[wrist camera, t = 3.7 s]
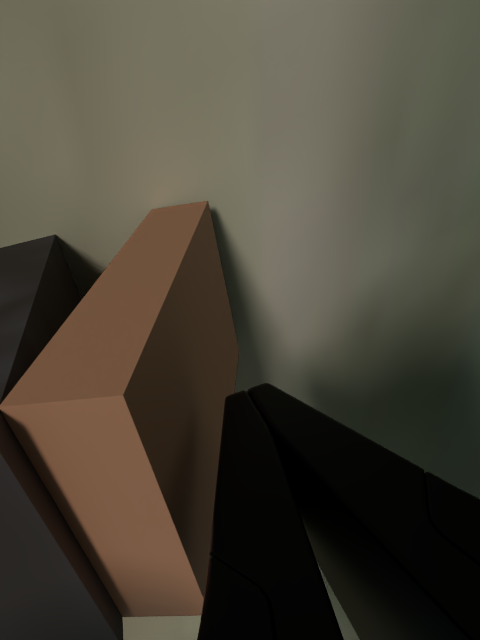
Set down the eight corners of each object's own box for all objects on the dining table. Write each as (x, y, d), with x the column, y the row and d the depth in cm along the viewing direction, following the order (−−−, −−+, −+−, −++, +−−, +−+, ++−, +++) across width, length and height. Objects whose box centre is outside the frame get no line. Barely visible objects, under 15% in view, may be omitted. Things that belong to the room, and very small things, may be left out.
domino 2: (55, 234, 12) (-11, 435, 5) (113, 380, 14) (123, 648, 7) (-7, 249, 12) (-166, 482, 5) (63, 395, 14) (26, 686, 7)
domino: (208, 200, 12) (122, 395, 5) (239, 350, 14) (210, 615, 8) (151, 209, 12) (-2, 406, 5) (192, 355, 15) (123, 617, 8)
